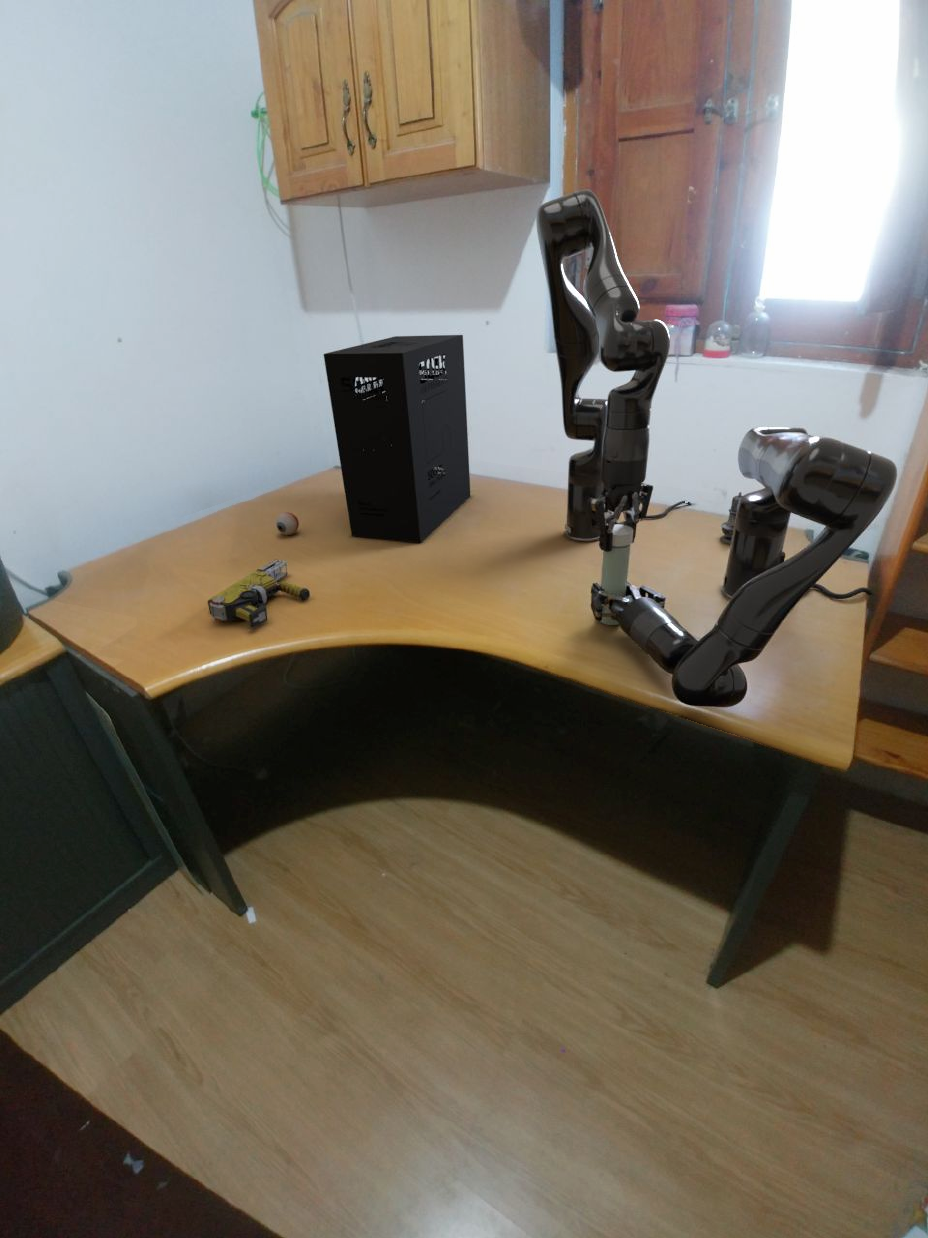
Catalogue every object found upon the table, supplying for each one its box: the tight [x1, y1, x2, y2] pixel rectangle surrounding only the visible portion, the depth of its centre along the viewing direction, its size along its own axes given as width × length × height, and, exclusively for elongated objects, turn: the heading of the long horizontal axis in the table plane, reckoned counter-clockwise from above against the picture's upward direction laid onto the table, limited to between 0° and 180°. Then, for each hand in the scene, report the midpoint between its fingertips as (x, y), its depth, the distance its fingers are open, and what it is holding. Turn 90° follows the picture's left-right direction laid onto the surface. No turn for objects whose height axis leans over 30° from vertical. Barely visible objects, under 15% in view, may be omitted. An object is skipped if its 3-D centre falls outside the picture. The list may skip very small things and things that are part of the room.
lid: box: [612, 524, 633, 546], centre depth 109 cm, size 5×5×2 cm
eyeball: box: [275, 511, 300, 536], centre depth 163 cm, size 6×6×6 cm
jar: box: [599, 543, 632, 626], centre depth 113 cm, size 5×5×18 cm
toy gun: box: [207, 558, 311, 629], centre depth 130 cm, size 5×24×15 cm
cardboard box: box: [323, 334, 471, 544], centre depth 162 cm, size 38×20×45 cm, turn 159°
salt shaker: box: [719, 491, 743, 545], centre depth 143 cm, size 6×6×12 cm
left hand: (616, 545), depth 110 cm, fingers closed on lid, 5 cm apart
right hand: (606, 585), depth 116 cm, fingers closed on jar, 4 cm apart
